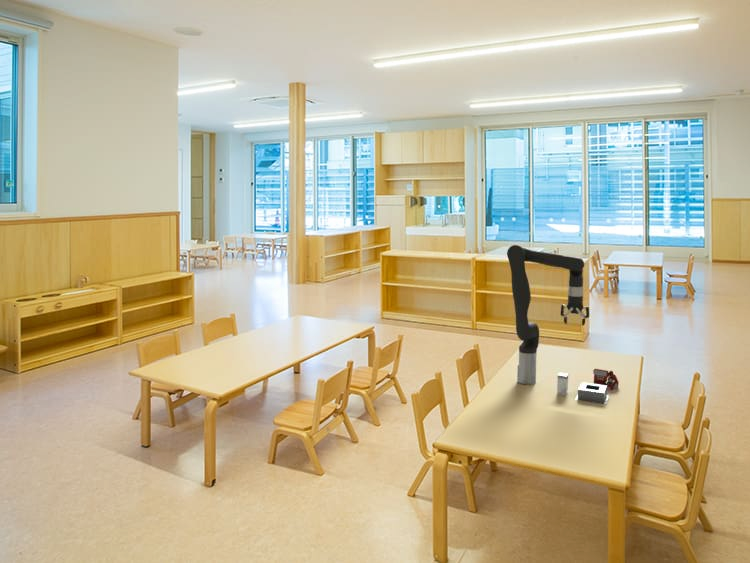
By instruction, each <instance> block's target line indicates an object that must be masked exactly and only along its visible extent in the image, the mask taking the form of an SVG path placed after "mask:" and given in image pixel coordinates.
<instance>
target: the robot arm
mask: <svg viewBox="0 0 750 563" xmlns="http://www.w3.org/2000/svg"><path fill="white" fill-rule="evenodd" d="M506 257H507V259H508V264H509V267H510V273H511V276H510V277H511V291H512V298H513V303H514V312H515V313H514V314H515V330H516V335H517V337H518V339H519V340H521V341H522V343H520V345H519V346H518V364H517V374H516V375H517V376H516V377H517V378H516V379H517V380H516V381H517V383H518V382H519V383H518V384H522V385H528V386H529V385H535V384H537V351H538V348H539V343H540V341H539V340H540V328H539V326H538V324H537V323H536V322H535V321H529V319H528V312H529V308H530V304H531V299H532V295H531V288H530V283H529V278H528V275H527V273H526V264H525V262H526V263H527V262H528V263H533V264H534V263H535V264H540V265H543V266H548V267H554V268H562V269H565V270H569V277H568V278H569V279H568V290H567V304H564V303H562V304H561V306H560V316H561V317H563V323H564V324H565V325H567V324H568V316H569V314H576V315H580V317H581V318H582V319H581V326H585V325H586V319H589V317H590V306H589V305H587V306H585V305H584V275H583V272H584V268H585V262H584V260H583V258H582V257H580V256H568V255H564V254H561V253H554V252H549V251H548V252H547V251H537V250H532V249H529V248H525V247H523V246H521V245H519V244H513V245H511V246H510V247H509V248H508V249H507V250H506ZM566 308H567V312H566V313H565V309H566ZM583 309H584V311H585V313H584V312H583Z"/></svg>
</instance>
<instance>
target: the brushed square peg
mask: <svg viewBox="0 0 750 563" xmlns="http://www.w3.org/2000/svg"><path fill="white" fill-rule="evenodd" d="M556 382H557V385H556V395H557V396H558V395H559V396H567V395H568V392H569V391H568V389H569V373H564V372H558V373H557V381H556Z"/></svg>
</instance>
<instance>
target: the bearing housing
mask: <svg viewBox="0 0 750 563" xmlns="http://www.w3.org/2000/svg"><path fill="white" fill-rule="evenodd" d="M607 393H608V389H607V385H599V384H594V383H593V382H592V383H590V382H585V381H584V382H583V381H582V382H581V383H580V384H579V386H578V389H577V394H576V397H575V401H582V402H587V403H588V402H589V403H595V404H601V405H607V403H608V399H609V396H610V394H607Z"/></svg>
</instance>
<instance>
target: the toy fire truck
mask: <svg viewBox="0 0 750 563" xmlns="http://www.w3.org/2000/svg"><path fill="white" fill-rule="evenodd" d="M592 372H593V384H599V385H607V390H610V391H613V390H614V389H615V390H617V389H619V385H620V384H619V380H618V378H617V375H616V374H614V371H613V370H606V369H600V368H594V369H593V370H592Z"/></svg>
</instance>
